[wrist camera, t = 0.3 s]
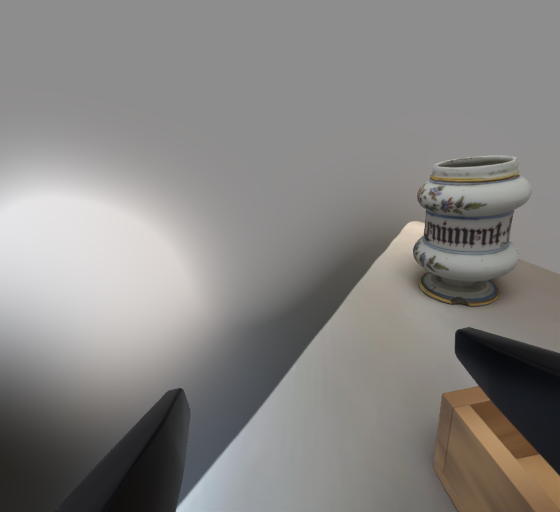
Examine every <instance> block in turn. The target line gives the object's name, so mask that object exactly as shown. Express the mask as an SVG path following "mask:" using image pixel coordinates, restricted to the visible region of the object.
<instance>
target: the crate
mask: <svg viewBox="0 0 560 512" xmlns="http://www.w3.org/2000/svg"><path fill="white" fill-rule="evenodd" d="M434 459H435V460H434V466H433V468H434V470H435V472H436V473H437V475H438V477H439V479H440V480H441V482H442V484H443V485H444V487H445V489H446V491H447V492H448V494H449V496H450V498H451V499H452V501H453V503H454V505H455V506H456V508H457V510H458V512H560V476H559V475H558V474H557V473H556V472H555V471H554V469H553V468H552V467H551V466H550V465H549V464H548V463H547V462H546V461H545V460H544V459H543V458H542V456H541V455H540V454H539V453H538V452H537V451H536V450H535V449H534V448H533V447H532V446H531V444H530V443H529V442H528V441H527V440H526V439H525V438H524V437H523V436H522V435H521V434H520V432H519V431H518V430H517V429H516V428H515V427H514V426H513V425H512V424H511V423H510V422H509V420H508V419H507V418H506V417H505V416H504V415H503V414H502V413H501V412H500V411H499V410H498V408H497V407H496V406H495V405H494V404H493V403H492V402H491V400H490V399H489V398H488V397H487V396H486V394H485V393H484V392H483V391H482V389H481V388H480V387H479V386H478V387H473V388H468V389H463V390H458V391H453V392H448V393H443V394H442V400H441V408H440V416H439V425H438V433H437V441H436V449H435V457H434Z"/></svg>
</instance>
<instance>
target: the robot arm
mask: <svg viewBox="0 0 560 512" xmlns="http://www.w3.org/2000/svg"><path fill="white" fill-rule="evenodd" d="M455 354H456V356H457V358H458V360H459V361H460V362H461V363H462V365H463V366H464V367H465V369H466V370H467V371H468V372H469V374H470V375H471V376H472V378H473V379H474V380H475V381H476V383H477V384H478V385H479V387H480V388H481V389H482V391H483V392H484V393H485V394H486V396H487V397H488V398H489V399H490V400H491V402H492V403H493V404H494V405H495V406H496V407H497V408H498V410H499V411H500V412H501V413H502V414H503V415H504V416H505V417H506V418H507V419H508V420H509V422H510V423H511V424H512V425H513V426H514V427H515V428H516V429H517V430H518V431H519V432H520V434H521V435H522V436H523V437H524V438H525V439H526V440H527V441H528V442H529V443H530V444H531V446H532V447H533V448H534V449H535V450H536V451H537V452H538V453H539V454H540V455H541V456H542V458H543V459H544V460H545V461H546V462H547V463H548V464H549V465H550V466H551V467H552V468H553V469H554V471H555V472H556V473H557V474H558V475H559V476H560V353H557V352H554V351H550V350H547V349H543V348H540V347H536V346H533V345H529V344H526V343H522V342H519V341H516V340H512V339H509V338H505V337H502V336H498V335H495V334H491V333H488V332H484V331H481V330H477V329H474V328H470V327H468V328H463V329H458V330H457V331H456V333H455ZM189 422H190V408H189V405H188V402H187V399H186V396H185V393H184V390H183V389H181V388H178V389H173V390H169V391H168V392H167V393H165V395H164V396H163V397H162V398H161V399H160V400H159V401H158V402H157V403H156V404H155V405H154V406H153V407H152V408H151V409H150V410H149V411H148V412H147V413H146V414H145V415H144V416H143V417H142V419H140V421H139V422H138V423H137V424H136V425H135V426H134V427H133V428H132V429H131V430H130V431H129V432H128V433H127V434H126V435H125V436H124V437H123V438H122V439H121V440H120V441H119V442H118V444H116V445H115V447H114V448H113V449H112V450H111V451H110V452H109V453H108V454H107V455H106V456H105V457H104V458H103V459H102V460H101V461H100V462H99V463H98V464H97V465H96V466H95V467H94V468H93V469H92V470H91V471H90V472H89V473H88V475H86V477H85V478H84V479H83V480H82V481H81V482H80V483H79V484H78V485H77V486H76V487H75V488H74V489H73V490H72V491H71V492H70V493H69V494H68V495H67V496H66V497H65V498H64V499H63V500H62V501H61V502H60V504H59V505H58V506H57V509H54V510H53V511H52V512H176V507H177V502H178V498H179V493H180V488H181V483H182V478H183V473H184V466H185V458H186V449H187V440H188V431H189Z"/></svg>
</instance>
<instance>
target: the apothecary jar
mask: <svg viewBox="0 0 560 512" xmlns="http://www.w3.org/2000/svg"><path fill="white" fill-rule="evenodd" d="M531 191H532V189H531V186H530V184H529V182H528V181H527V180H526V179H525V178H523V177H522V176H520V175H519V170H518V159H517V158H516V157H512V156H499V155H497V156H479V157H468V158H460V159H453V160H448V161H444V162H440V163H437V164H435V165H434V168H433V172H432V175H431V177H430V180H429V181H427V182H426V183H424V184H423V185H422V187H421V188H420V189H419V191H418V195H417V197H418V202H419V203H420V205H421V206H422V207H424V208H425V209H426V219H425V229H424V236H422V237H421V238H420V239H419V240H418V241H417V242H416V244H415V246H414V249H413V254H414V258H415V260H416V261H417V263H418V264H419V265H420V266H422V267H423V268H424V269H425V270H427V271H429V272H430V273H427V274H425V275H424V276H422V277H421V278H420V280H419V286H420V288H421V289H422V290H423V292H425V293H426V294H427V295H429V296H430V297H432V298H434V299H437V300H439V301H442V302H446V303H450V304H458V303H462V304H465V305H468V306H481V305H487V304H489V303H492V302H494V301H495V300H496V299H497V298H498V297H499V290H498V288H497V287H496V286H495V285H494V284H493V283H492V282H491V281H490V280H491V279H495V278H498V277H501V276H503V275H505V274H506V273H508V272H510V271H511V270H512V269H513V268H514V267H515V266H516V264H517V263H518V259H519V254H518V251H517V249H516V247H515V246H514V245H513V244H512V243H511V242H510V241H509V236H510V229H511V223H512V217H513V213H514V209H516V208H518V207H520V206H522V205H523V204H524V203H526V202H527V200H528V199H529V198H530V196H531Z"/></svg>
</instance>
